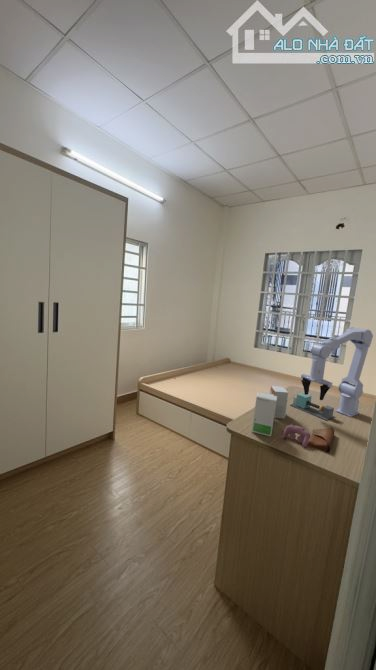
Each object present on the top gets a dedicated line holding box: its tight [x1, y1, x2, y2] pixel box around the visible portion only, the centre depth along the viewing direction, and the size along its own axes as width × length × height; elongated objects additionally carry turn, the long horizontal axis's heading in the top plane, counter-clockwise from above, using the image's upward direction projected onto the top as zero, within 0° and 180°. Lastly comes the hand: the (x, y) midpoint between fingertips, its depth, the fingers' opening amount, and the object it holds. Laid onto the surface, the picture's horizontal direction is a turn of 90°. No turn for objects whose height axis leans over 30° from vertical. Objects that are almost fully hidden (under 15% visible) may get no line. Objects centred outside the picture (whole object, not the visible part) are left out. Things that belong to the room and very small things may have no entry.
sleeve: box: [296, 392, 312, 409], centre depth 146 cm, size 6×5×6 cm
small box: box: [269, 385, 289, 419], centre depth 134 cm, size 8×6×13 cm
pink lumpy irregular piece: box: [281, 424, 311, 448], centre depth 111 cm, size 10×5×7 cm, turn 46°
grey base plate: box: [289, 403, 336, 421], centre depth 142 cm, size 8×20×1 cm, turn 36°
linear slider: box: [292, 395, 335, 420], centre depth 142 cm, size 4×20×5 cm, turn 35°
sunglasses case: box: [306, 426, 335, 454], centre depth 112 cm, size 18×7×7 cm, turn 149°
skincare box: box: [251, 391, 277, 438], centre depth 116 cm, size 8×7×16 cm
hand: (313, 396), depth 133 cm, fingers open, 7 cm apart
